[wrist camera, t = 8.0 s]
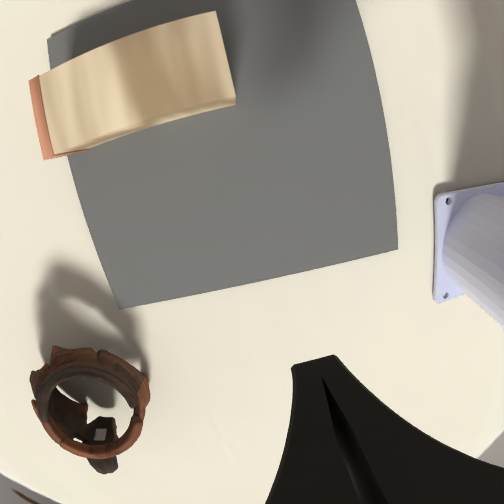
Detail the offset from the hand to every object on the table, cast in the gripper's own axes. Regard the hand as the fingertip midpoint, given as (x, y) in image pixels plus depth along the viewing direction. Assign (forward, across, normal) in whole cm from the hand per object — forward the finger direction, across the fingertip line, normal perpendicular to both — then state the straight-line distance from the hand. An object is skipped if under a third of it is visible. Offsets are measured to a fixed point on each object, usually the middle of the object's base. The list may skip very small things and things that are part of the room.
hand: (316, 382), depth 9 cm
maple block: (+8, 0, -11) cm, 14 cm away
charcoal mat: (+10, +1, -8) cm, 13 cm away
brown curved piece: (+11, +16, +8) cm, 21 cm away
